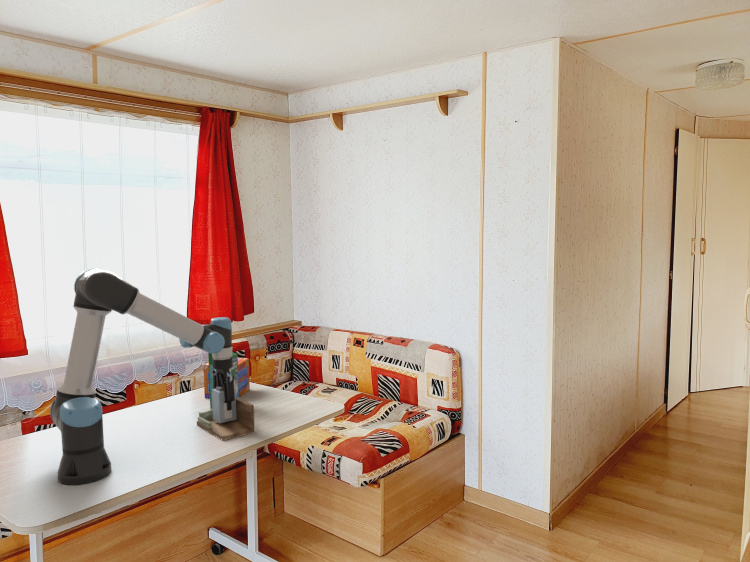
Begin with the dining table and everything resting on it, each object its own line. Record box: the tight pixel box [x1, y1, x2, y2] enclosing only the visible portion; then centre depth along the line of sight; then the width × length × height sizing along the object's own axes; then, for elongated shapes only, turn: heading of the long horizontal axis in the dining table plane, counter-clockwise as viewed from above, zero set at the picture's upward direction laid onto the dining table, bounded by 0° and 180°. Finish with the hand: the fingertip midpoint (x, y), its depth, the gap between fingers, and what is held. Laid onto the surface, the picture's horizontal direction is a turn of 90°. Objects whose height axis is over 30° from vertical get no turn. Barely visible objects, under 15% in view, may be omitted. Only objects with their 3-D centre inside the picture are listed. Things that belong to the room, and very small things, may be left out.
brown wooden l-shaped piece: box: [196, 397, 256, 441], centre depth 221 cm, size 13×22×10 cm, turn 41°
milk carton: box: [207, 351, 240, 410], centre depth 246 cm, size 9×9×25 cm
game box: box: [203, 357, 251, 399], centre depth 266 cm, size 16×16×16 cm
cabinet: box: [212, 386, 236, 423], centre depth 224 cm, size 7×6×13 cm
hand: (224, 415), depth 224 cm, fingers closed on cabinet, 6 cm apart
